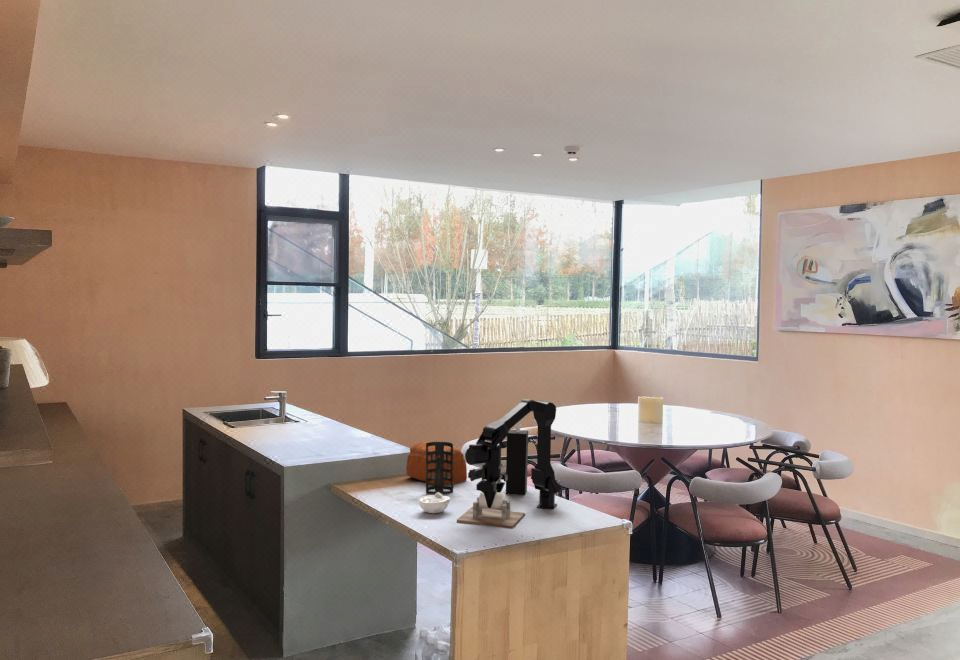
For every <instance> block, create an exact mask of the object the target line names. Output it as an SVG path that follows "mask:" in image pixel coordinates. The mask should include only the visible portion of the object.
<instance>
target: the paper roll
mask: <svg viewBox="0 0 960 660" xmlns="http://www.w3.org/2000/svg"><path fill="white" fill-rule="evenodd" d="M476 501H479V507H480V508H484V509H494V510H502V505H503V504H507V503H508V501H509V500H507V499H506V492H501V493H500V492H497V493H496V495H495V498H494V501H493V504H492V506H491V508H488V506H487V503H486V499H485V495H484V493H483V492H482V491H480V493H479V497H476Z"/></svg>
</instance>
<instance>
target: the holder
mask: <svg viewBox="0 0 960 660" xmlns="http://www.w3.org/2000/svg"><path fill="white" fill-rule="evenodd" d="M427 442H428V443H426V482H425V494H428V495H435V494H436V493H441V494H442V495H450V494H453V493H454V484H453V448H454V444H453V443H452V442H450V441H427ZM429 446H435V451H431V452H428V447H429ZM444 446H446V447H449V448H451V452H447V451H444ZM433 454H435V459H433ZM444 454H445V455H446V460H444ZM428 455H431V460H428ZM439 455H440V458H439ZM448 455H450V456H451V461H449V460H448ZM431 463H434V464H435V468H433V469H428V464H431ZM444 463H448V464H450V465H451V469H446V468H444ZM438 470H440V472H438ZM433 472H435V476H434V477H433ZM444 472H446V477H444ZM448 472H449V473H450V474H451V478H449V477H448ZM428 473H431V477H430V478H428ZM432 480H434V481H435V482H434V484H433V485H430V486H429V483H428V482H429V481H432ZM444 480H447V481H450V482H451V484H450V485H443V481H444ZM438 484H439V485H438ZM433 490H434V491H433ZM444 490H447V491H444Z"/></svg>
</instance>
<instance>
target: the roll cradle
mask: <svg viewBox="0 0 960 660" xmlns="http://www.w3.org/2000/svg"><path fill="white" fill-rule="evenodd" d="M525 515H526V513H525V512H522V511H521V512H520V511H514V510H513V511H512V510H511V501H509V500H508V503H507V504H503V505H502V510H494V509H484V508H480V507H479V501H477V500H475V501H473V502H472V507H470V508H469V509H468V510H467V511H465V512H464V513H463V514H462V515H461V516H460V517H458V518H457V519H456V523H460V524H461V523H462V524H470V525H478V526H487V527H488V526H489V527H496V528H497V527H498V528H506V529H513V528H515V527H516V526H517V524H518V523H519V522H520V521H521V520H522V519H523V518H524V517H525ZM523 516H524V517H523Z"/></svg>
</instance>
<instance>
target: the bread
mask: <svg viewBox="0 0 960 660" xmlns="http://www.w3.org/2000/svg"><path fill="white" fill-rule="evenodd" d="M428 442H429V441H420V442H418V443H415V444H413V445H412V446H411V447H410V448H409V453H408V456H407V458H406V459H407V460H406V465H405V466H406V467H405V470H406V472H405V473H406V476H407V477H409V478H413V479H415V480H418V481H422V482H425V483H426V443H428ZM431 451H435V446H429V447H428V452H431ZM444 451H447V452H451V447H449V446H444ZM439 458H440V455H439ZM433 459H435V454H433ZM428 460H431V455H428ZM444 460H446V455H445V454H444ZM448 460H449V461H451V456H450V455H448ZM433 468H435V464H434V463H431V464H428V469H433ZM444 468H446V469H451V465H450V464H448V463H444ZM467 470H468V469H467V461H466V459H465V454H463V452H462V451H461V450H460V449H457V448H455V447H453V485H455V484H459V483H463V482H466V481H467V479H468V473H467ZM438 472H440V470H438ZM434 476H435V472H433V477H434ZM430 477H431V473H428V478H430ZM444 477H446V472H444ZM448 477H449V478H451V474H450V473H449V472H448ZM434 482H435V481H434V480H432V481H429V482H428V484H431V485H434ZM443 485H445V486H451V482H450V481H447V480H444V481H443ZM438 486H439V484H438Z"/></svg>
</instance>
